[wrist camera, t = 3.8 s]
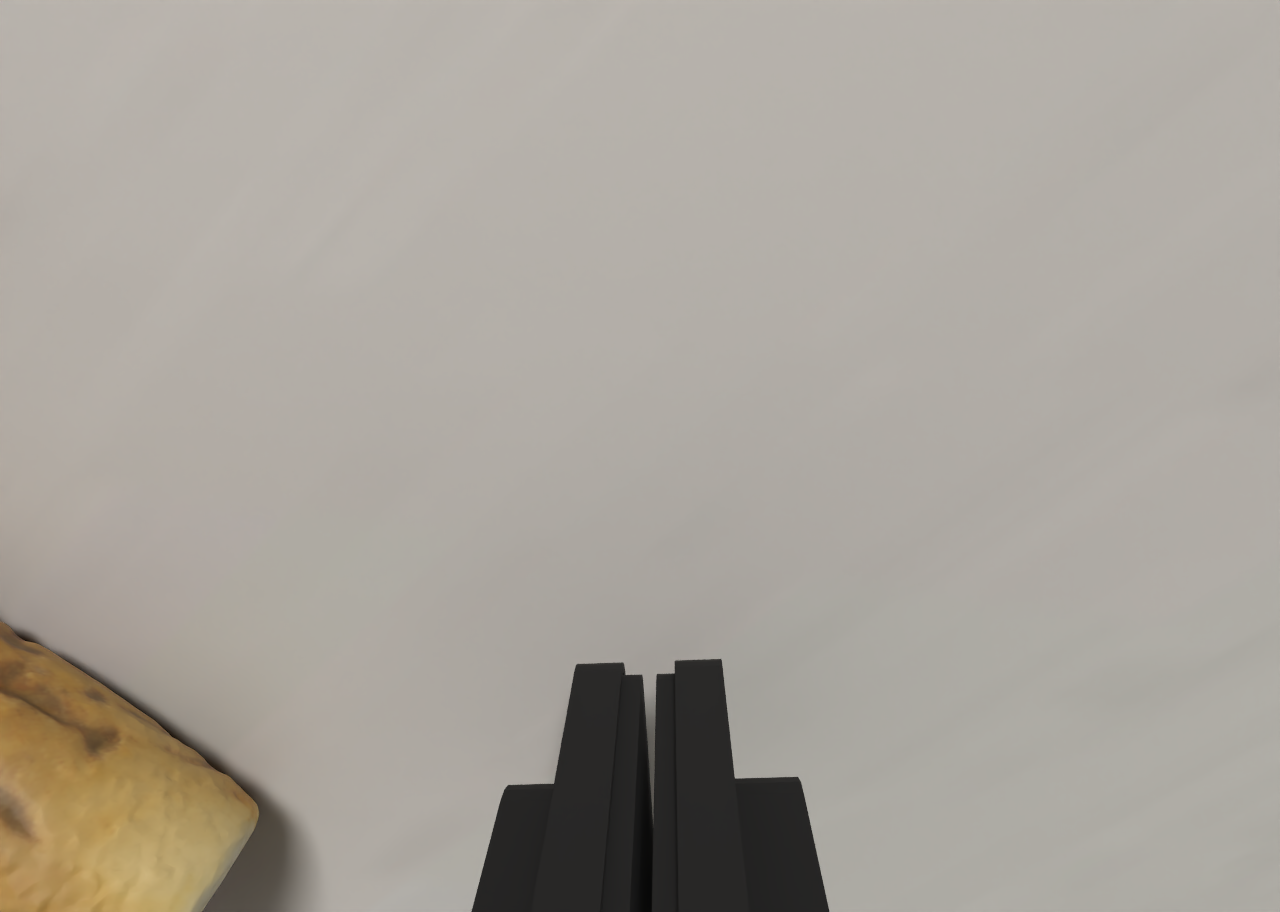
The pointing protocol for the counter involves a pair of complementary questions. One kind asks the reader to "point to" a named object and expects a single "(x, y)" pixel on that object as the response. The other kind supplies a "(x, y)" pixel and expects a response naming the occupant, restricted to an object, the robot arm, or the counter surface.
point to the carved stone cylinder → (103, 798)
